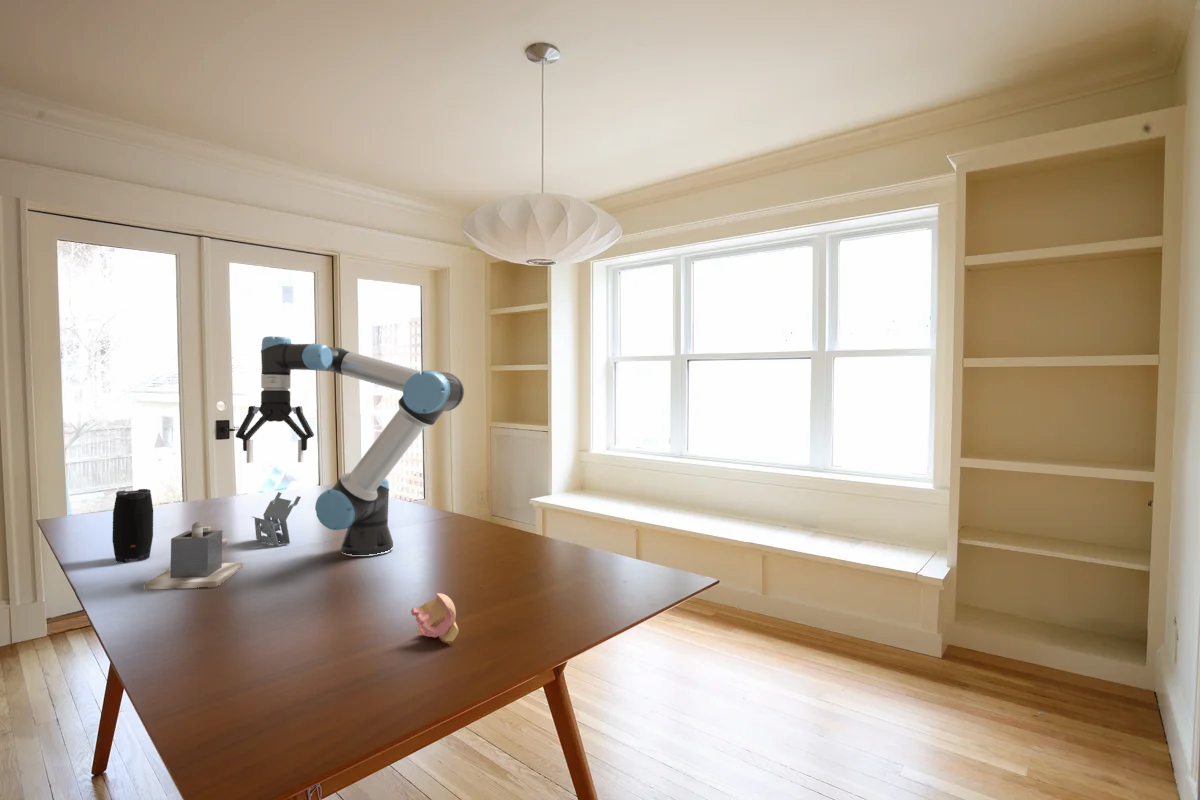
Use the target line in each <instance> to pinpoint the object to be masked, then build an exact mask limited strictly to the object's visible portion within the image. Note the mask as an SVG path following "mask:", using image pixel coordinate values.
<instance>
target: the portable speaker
mask: <svg viewBox="0 0 1200 800" xmlns="http://www.w3.org/2000/svg"><path fill="white" fill-rule="evenodd" d="M115 496H116V497H115V500H114V505H113V511H112V547H113V553H114V557H115V559H114V560H115V562H116V561H117V562H116V563H122V562H123V563H126V561H127V560H135V559H137V561H139V562H140V561H143V560H147V559H149V558H150V556H151V555H150V554H151V549H152V545H153V539H154V507H153V506H154V505H153V498H152V492H151V489H148V488H141V489H140V488H139V489H138V490H118V491H117V492H115Z"/></svg>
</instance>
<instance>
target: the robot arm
mask: <svg viewBox="0 0 1200 800" xmlns="http://www.w3.org/2000/svg"><path fill="white" fill-rule="evenodd" d="M260 354H261V355H260V357H261V375H260V376H261V377H260V378H261V379H260V380H261V381H260V383H261V389H263V390H262V391H260V406H255V405H250V406H249V407H248V408H247V409H248V410H247V414H246V416H245V418H244V419H243V421H242V423H241V425H240V426H239V427H238V431H237V432H236V434H235V437H236V439H241V440H242V451H243V452H246V463H247V464H251V463H252V462H253V461H254V460H253V458H254V439H251V437H252V436H254V435H255V433H257V431H259V429H260V428H261V427H262V426H263V425H265V423H266V422H269V423H270V422H278V423H279V422H283V421H284V422H285V424H287V425H288V426H289V427H290V428H291V430H292V431H293V432H294V433H295V434H296V435H297V436H298V437H299V438H300V439H299V440H298V439H297V441H298V442H297V446H298V447H297V453H298V454H297V462H298V463H302V462H304V451H305V452H306V451H307V449H308V439H310V438H313V437H314V436H315V433H314V432H313V430H312V428H311V426H310V424H309V423H308V420H307V419H306V417H305V415H304V412H303V407H302V406H301V405H298V406H293V407H292V405H291V391H290V389H291V370H292V371H293V370H297V371H300V370H301V371H321V372H322V371H323V372H331V373H335V374H337V375H343V376H347V377H350V378H354V379H357V380H360V381H364V382H367V383H368V382H369V383H371V384H374V385H378V386H382V387H386V388H389V389H392V390H396V391H400V392H402V395H401V397H400V398H399V399H398V402H397V403H398V408H399V409H398V410H397V411H396V413H395V415H393V417H392V418H391V419H390V421H389V422H388V423H387V425H386V426H385V427H384V429H383V430H382V431H381V433H380V434H379V436H377V438H376V439H375V440H374V442H373V443H372V445H371V446H370V447H369V448H368V450H367V451H366V452H365V454H364V455H363V456H362V458H361V459H360V460H359V462H358V463H357V464H356V466H355V467H354V468H353V469H352V470H351V472H346V473H343V474H342V475H341V476H340V477H339V479H338V480H337V481H336V483H334V485H333V487H332V488H330V489H326V490H325V491H323V492H322V493H321V494H319V496H318V497H317V499H316V501H315V507H314V508H315V509H314V510H315V512H316V517H317V520H318V521H319V523H320V524H321V525H322V526H323V527H325V528H326V529H329V530H333V531H340V530H346V531H345V534H344V537H343V538H342V539H343V540H342V542H341V545H340V553H341V552H343V553H346V554H352V555H369V554H377V553H381V552H385V551H388V550H390V549H391V548H392V547H393V548H394V541H393V538H392V534H391V530H390V527H389V522H388V521H389V519H388V518H389V495H390V493H389V492H390V488H389V480H388V479H387V477H388V475H389V474H390V473H391V471H392V470H393V469H394V467H395V466H396V465H397V464H398V462H399V461H400V459H402V457H403V456H404V455H405V453H406V452H407V451H408V449H409V448H410V447H411V446H412V444H413V443H414V441H415V440H416V439H417V438H418V436H419V435H420V434H421V433H422V432H423V429H424V428H426V427H431V426H434V424H435V423H436V422H437V420H438V419H439V418H440V417H441V415H442V414H443V413H444V412H450V411H452V410H454V409H456V408H457V407H458V406H459V405H460V404H461V403H462V402H463V399H464V396H465V388H464V386H463V385H464V384H463V383H462V381H461V380H460V378H458V377H457V375H455V374H453V373H450V372H444V371H436V370H432V369H431V370H429V369H428V370H422V371H421V370H418V369H415V368H410V367H408V366H403V365H399V364H396V363H392V362H388V361H385V360H382V359H377V358H374V357H370V356H367V355H363V354H359V353H356V352H352V351H348V350H347V349H344V348H341V347H333V346H331V347H330V346H328V345H327V344H323V343H322V344H321V343H298V344H297V343H292V340H291V339H290V338H289V337H286V336H273V335H272V336H264V337H262V339H261V350H260ZM258 412H260V414H261V416H260V418H259V419H258V420H257V421H256V423H254V424H253V425H252V427H251V428H250V429H249V430H248V428H249V426H250V424H251V422H252V421H253V419H254V417H255V416H256V414H258ZM292 412H293V414H294V415H296V417H297V419H298V421H299V423H300V425H301V426H302V428H303V430H304V431H303V430H302V429H301V428H300V427H299V425H298V424H297V423H296V422H295V421H294V420H293V419H292V417H291V416H290V414H291V413H292ZM247 430H248V431H247Z"/></svg>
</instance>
